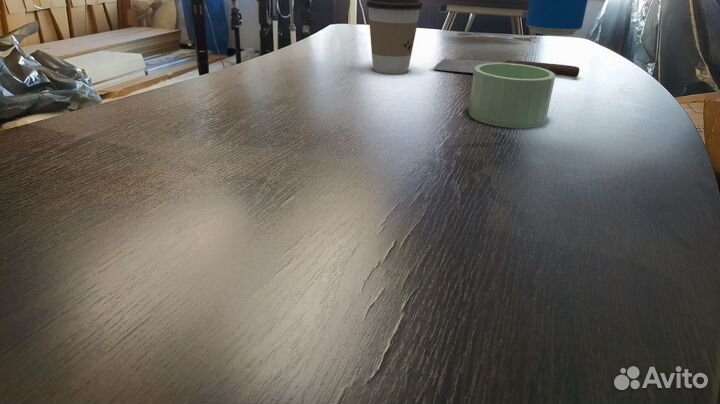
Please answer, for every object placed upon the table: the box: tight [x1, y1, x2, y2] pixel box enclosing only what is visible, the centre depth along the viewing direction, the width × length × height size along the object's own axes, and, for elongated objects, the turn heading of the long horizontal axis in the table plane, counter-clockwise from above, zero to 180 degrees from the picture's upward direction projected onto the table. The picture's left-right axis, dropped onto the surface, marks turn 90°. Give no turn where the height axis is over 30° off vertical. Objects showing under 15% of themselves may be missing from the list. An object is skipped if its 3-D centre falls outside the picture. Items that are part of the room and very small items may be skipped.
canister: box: [468, 63, 556, 129], centre depth 76 cm, size 12×12×7 cm
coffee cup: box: [365, 0, 424, 75], centre depth 101 cm, size 11×11×15 cm
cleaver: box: [433, 58, 580, 78], centre depth 105 cm, size 29×10×2 cm, turn 75°
